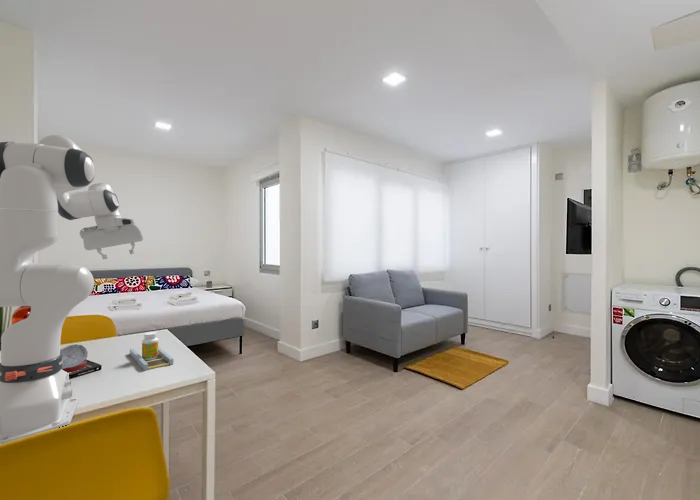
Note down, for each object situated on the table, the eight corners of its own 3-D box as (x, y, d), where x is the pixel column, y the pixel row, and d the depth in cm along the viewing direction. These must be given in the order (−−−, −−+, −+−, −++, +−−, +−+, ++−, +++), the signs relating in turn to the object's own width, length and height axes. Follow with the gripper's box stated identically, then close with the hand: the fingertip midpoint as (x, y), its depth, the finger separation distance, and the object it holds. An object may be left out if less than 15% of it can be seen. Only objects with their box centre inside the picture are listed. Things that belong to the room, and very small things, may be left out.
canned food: (87, 380, 117) (101, 356, 117) (57, 389, 107) (72, 363, 107) (65, 363, 119) (79, 339, 119) (34, 370, 109) (49, 344, 109)
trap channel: (173, 364, 121) (173, 358, 121) (144, 370, 115) (144, 364, 115) (156, 348, 138) (156, 344, 138) (129, 353, 132) (129, 348, 132)
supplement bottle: (144, 361, 124) (144, 336, 123) (140, 358, 127) (140, 333, 127) (160, 358, 127) (160, 333, 127) (155, 354, 131) (155, 330, 131)
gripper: (76, 228, 127) (86, 262, 129) (138, 219, 138) (146, 251, 139) (79, 229, 132) (89, 262, 134) (138, 220, 143) (146, 251, 145)
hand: (118, 256), depth 137 cm, fingers open, 8 cm apart
